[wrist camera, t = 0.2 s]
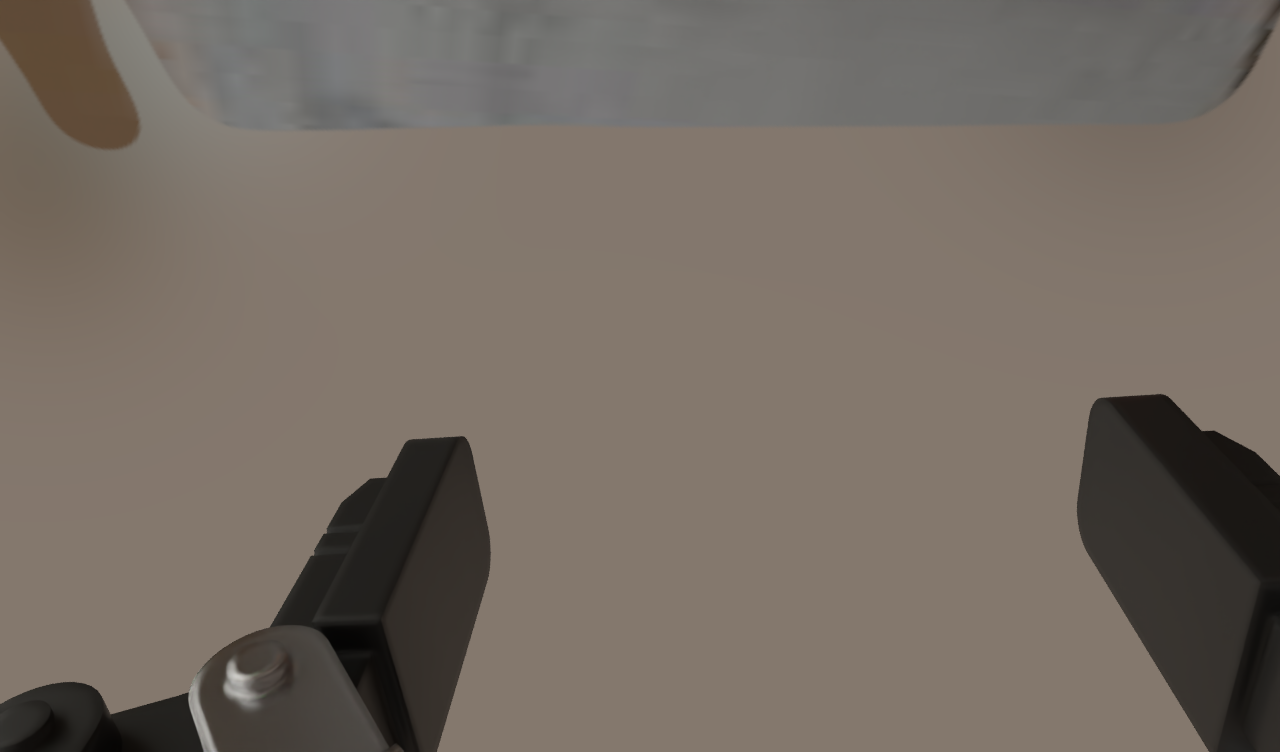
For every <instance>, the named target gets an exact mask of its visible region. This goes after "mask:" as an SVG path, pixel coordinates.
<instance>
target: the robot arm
mask: <svg viewBox="0 0 1280 752" xmlns="http://www.w3.org/2000/svg"><path fill="white" fill-rule="evenodd" d="M1077 516H1078V525H1079V531H1080V534H1081V538H1082V541H1083V544H1084V546H1085V549H1086V551H1087V553H1088V554H1089V556H1090V557H1091V559H1092V561H1093V563H1094V564H1095V566H1096V567H1097V569H1098V571H1099V572H1100V574H1101V576H1102V577H1103V579H1104V580H1105V582H1106V584H1107V585H1108V587H1109V589H1110V590H1111V592H1112V594H1113V595H1114V597H1115V598H1116V600H1117V602H1118V603H1119V605H1120V607H1121V608H1122V610H1123V611H1124V613H1125V615H1126V616H1127V618H1128V620H1129V621H1130V623H1131V625H1132V626H1133V628H1134V630H1135V631H1136V633H1137V634H1138V636H1139V638H1140V639H1141V641H1142V643H1143V644H1144V646H1145V647H1146V649H1147V651H1148V652H1149V654H1150V656H1151V657H1152V659H1153V661H1154V662H1155V664H1156V665H1157V667H1158V669H1159V670H1160V672H1161V674H1162V675H1163V677H1164V678H1165V680H1166V682H1167V683H1168V685H1169V687H1170V688H1171V690H1172V692H1173V693H1174V695H1175V696H1176V698H1177V700H1178V701H1179V703H1180V705H1181V706H1182V708H1183V710H1184V711H1185V713H1186V714H1187V716H1188V718H1189V719H1190V721H1191V723H1192V724H1193V726H1194V728H1195V729H1196V731H1197V732H1198V734H1199V736H1200V737H1201V739H1202V741H1203V742H1204V744H1205V746H1206V747H1207V749H1208V751H1209V752H1280V476H1279V475H1278V474H1277V473H1276V472H1275V471H1274V470H1273V469H1272V468H1271V467H1270V466H1269V465H1268V464H1267V463H1266V462H1265V461H1264V460H1263V459H1262V458H1261V457H1260V456H1259V455H1257V454H1256V453H1255V452H1254V451H1252V450H1250V449H1248V448H1246V447H1244V446H1242V445H1240V444H1239V443H1237V442H1235V441H1233V440H1231V439H1229V438H1227V437H1225V436H1223V435H1221V434H1220V433H1218V432H1216V431H1201V430H1200V429H1199V428H1198V427H1197V426H1196V425H1195V424H1194V423H1193V422H1192V421H1191V420H1190V418H1188V417H1187V415H1186V414H1185V413H1184V412H1182V410H1181V409H1180V408H1179V407H1178V406H1177V405H1176V404H1175V403H1174V402H1173V401H1172V400H1171V399H1170V398H1169V397H1168V396H1166V395H1162V394H1156V395H1141V396H1124V397H1109V398H1099V399H1097V400H1096V401H1095V403H1094V404H1093V406H1092V408H1091V411H1090V416H1089V421H1088V429H1087V436H1086V443H1085V450H1084V457H1083V465H1082V472H1081V479H1080V486H1079V493H1078V501H1077ZM314 551H315V555H314V556H311V557H310V559H309V560H308V562H307V564H306V566H305V568H304V569H303V571H302V572H301V574H300V576H299V578H298V579H297V581H296V583H295V585H294V586H293V588H292V590H291V592H290V593H289V595H288V597H287V598H286V600H285V602H284V604H283V605H282V608H281V609H280V611H279V612H278V614H277V616H276V618H275V619H274V621H273V623H272V624H271V626H270V628H266V629H263V630H259V631H256V632H254V633H251V634H248V635H246V636H244V637H242V638H240V639H238V640H236V641H234V642H232V643H231V644H229V645H228V646H226V647H224V648H223V649H222V650H220V651H219V652H218V653H217V654H215V655H214V656H213V657H212V658H211V659H210V660H209V661H208V662H207V663H206V664H205V665H204V666H203V667H202V668H201V669H200V671H199V672H198V673H197V675H196V677H195V678H194V680H193V682H192V685H191V687H190V690H189V692H188V693H185V694H182V695H179V696H176V697H172V698H169V699H165V700H162V701H158V702H154V703H151V704H147V705H144V706H140V707H137V708H133V709H129V710H125V711H122V712H118V713H115V714H110V712H109V710H108V708H107V706H106V704H105V702H104V700H103V698H102V696H101V695H100V693H99V692H98V691H97V690H96V689H94V688H93V687H92V686H89V685H86V684H83V683H76V682H63V683H56V684H50V685H46V686H42V687H39V688H35V689H33V690H30V691H27V692H24V693H22V694H20V695H18V696H16V697H13V698H11V699H9V700H7V701H5V702H4V703H2V704H0V752H437V749H438V746H439V742H440V739H441V736H442V732H443V729H444V725H445V722H446V719H447V715H448V712H449V709H450V705H451V702H452V699H453V695H454V692H455V688H456V685H457V682H458V678H459V675H460V671H461V668H462V664H463V661H464V658H465V655H466V651H467V648H468V644H469V641H470V638H471V634H472V631H473V628H474V624H475V621H476V617H477V614H478V611H479V607H480V604H481V601H482V597H483V594H484V590H485V587H486V584H487V580H488V576H489V570H490V553H491V552H490V537H489V531H488V526H487V521H486V516H485V512H484V507H483V502H482V497H481V493H480V488H479V483H478V479H477V474H476V470H475V465H474V460H473V455H472V451H471V448H470V445H469V443H468V441H467V439H466V438H465V437H463V436H460V437H444V438H429V439H412V440H408V441H407V442H406V443H405V444H404V446H403V448H402V450H401V452H400V454H399V456H398V458H397V460H396V461H395V463H394V465H393V467H392V469H391V471H390V473H389V475H388V477H387V478H375V479H369V480H368V481H367V482H366V483H365V484H363V485H362V486H361V487H360V488H359V489H358V490H356V491H355V492H354V493H353V494H351V496H349V497H348V498H347V499H345V500H344V501H343V502H342V503H341V505H340V507H339V508H338V510H337V512H336V513H335V515H334V517H333V519H332V520H331V522H330V524H329V526H328V528H327V534H323V536H322V538H321V540H320V541H319V543H318V545H317V546H316V548H315V550H314Z"/></svg>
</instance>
